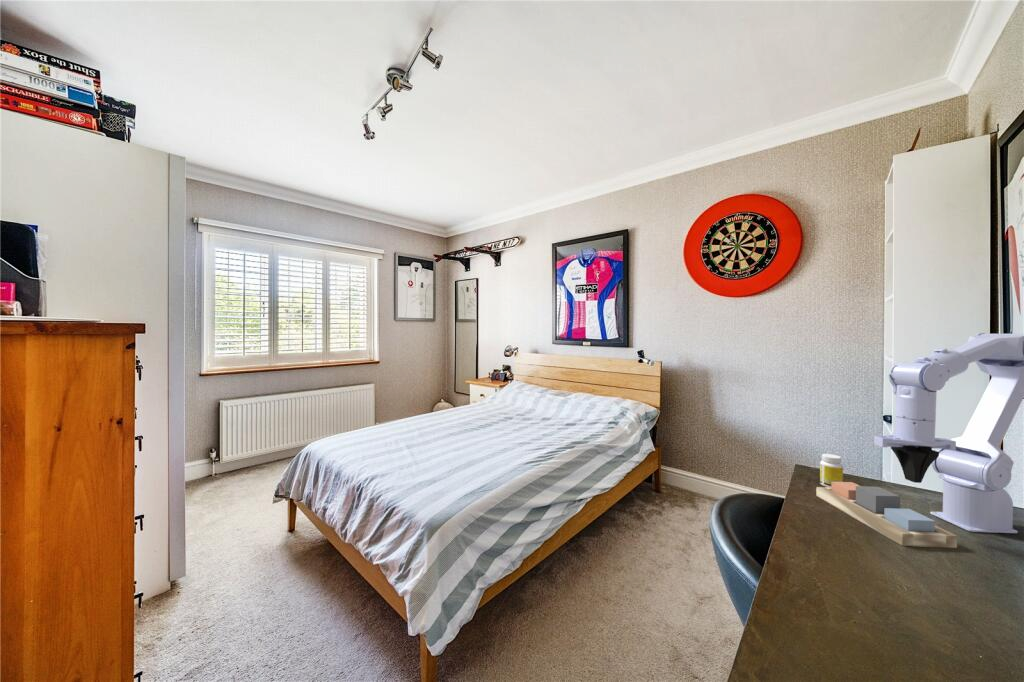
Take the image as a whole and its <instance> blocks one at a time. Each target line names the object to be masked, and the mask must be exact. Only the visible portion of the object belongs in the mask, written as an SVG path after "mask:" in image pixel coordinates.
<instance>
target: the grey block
mask: <svg viewBox="0 0 1024 682" xmlns="http://www.w3.org/2000/svg"><path fill="white" fill-rule="evenodd" d="M856 503H857V504H859V505H860V506H862V507H864V508H866V509H868V510H870V511H872V512H874V513H876V514H884V508H897V509H901V496H900V495H898V494H896V493H894V492H892V491H890V490H887V489H885V488H882V487H880V486H870V485H869V486H868V485H867V486H866V485H859V486H856Z"/></svg>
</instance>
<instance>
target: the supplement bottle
mask: <svg viewBox="0 0 1024 682" xmlns="http://www.w3.org/2000/svg"><path fill="white" fill-rule="evenodd" d="M843 480H844V466H843V464H842V456H839V455H836V454H833V453H822V454H821V461H820V462H819V484H820V485H822V487H831V482H844V481H843Z"/></svg>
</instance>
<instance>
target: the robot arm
mask: <svg viewBox="0 0 1024 682" xmlns="http://www.w3.org/2000/svg"><path fill="white" fill-rule="evenodd" d="M971 363H975V364H976V365H977V367H978V368H979V370H980V371H981V372H983V373H984V374H988V375H990V377H991V378H990V379H989V380H990V381H989V382H988V384H987V386H986V389H985V390H984V393H983V394H982V397H981V399H980V400H979V402H978V404H977V406H976V408H975V410H974V412H973V414H972V416H971V418H970V420H969V421H968V424H967V426H966V428H965V429H964V431H963V434H962V435H961V436H958V437H953V438H945V437H944V438H942V437H936V419H937V418H936V416H937V413H936V412H937V391H940V390H942V389H943V388H944V386H945V385H946V384H947V382H948V381H949V380H950V379H951V378H953V377H956V376H958V375H960V374H962V373H965V372H966V371H967V370H968V368H969V365H970V364H971ZM888 379H889V382H890V383H891V386H892V393H893V394H894V395H895V396H896V397H895V399H896V400H895V423H894V424H895V426H894V427H895V428H894V429H895V430H894V432H893V433H892V434H891V435H890V434H889V435H888V434H887V435H874V437H873V442H874V443H873V445H874V446H877V447H881V448H888V447H889V448H890V450H892V452H893V453H894V455H895V456H896V458H897V460H898V461H899V464H900V467H901V469H902V472H903V475H904V478H905V479H904V480H907V481H910V482H912V483H918V484H920V483H922V481H923V479H924V477H925V475H926V473H927V471H928V470H929V467H930V466H932V469H933V470H934V472H935V473H937V474H938V478H940V479H942V480H943V481H942V483H943V484H942V486H943V487H942V511H930V515H932V516H935V517H936V518H939V519H941V520H944V521H945V522H948V523H950V524H951V525H955V526H957V527H959V528H961V529H963V530H965V531H968V532H972V533H995V534H996V533H1000V534H1002V533H1003V534H1018V532H1019V531H1018V530H1016V529H1014V528H1013V527H1014V523H1013V520H1014V519H1013V518H1014V517H1013V516H1014V514H1013V513H1014V504H1013V503H1014V502H1013V499H1012V497H1011V496H1010V494H1009V492H1008V491H1006V490H1005V489H1004V488H1006V487H1008V485H1009V484H1010V482H1011V481H1012V469H1013V467H1014V460H1012V457H1010V456H1009V455H1008V454H1007V453H1006V452H1005V451H1003V450H1002V449H1001V448H1000V446H1001V444H1002V442H1003V440H1004V438H1005V436H1006V435H1007V432H1008V431H1009V428H1010V426H1011V424H1012V422H1013V420H1014V418H1015V416H1016V414H1017V412H1018V409H1019V408H1020V406H1021V405H1022V402H1023V400H1024V333H985V332H979V333H975V334H974V335H970V336H969V338H968V339H967V342H965V343H964V344H961V345H960V346H958V347H956V348H954V349H947V348H936V349H933V352H931V353H929V354H927V355H925V356H919V357H917V358H916V360H914V361H911V362H910V361H902V362H899V363H896V364H894V365H893V367H891V368H890V372H889V373H888ZM933 449H936V450H933Z"/></svg>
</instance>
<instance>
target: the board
mask: <svg viewBox="0 0 1024 682" xmlns="http://www.w3.org/2000/svg"><path fill="white" fill-rule="evenodd" d="M815 491H816V494H815V495H816V497H817V498H819V499H821V500H822V501H824V502H826V503H827V504H829V505H831V506H833V507H834V508H836V509H838V510H839V511H842V512H843V513H845V514H847V515H848V516H850V517H852V518H853V519H855V520H856V521H859V522H861V524H864V525H866V526H868V527H869V528H870V529H872V530H874V531H875V532H877V533H880V534H881V535H883V536H884V537H886V538H888V539H890V540H891V541H893V542H895V543H897V544H899V545H901V546H902V547H923V548H925V547H927V548H928V547H929V548H947V549H948V548H952V549H957V548H958V535H957V534H954V533H952V532H951V531H948V530H946V529H944V528H942V527H940V526H938V525H936V524H935V532H909V531H906V530H904V529H902V528H901V527H899V526H897V525H895V524H893V523H891V522H889V521H887V520H886V519H884V514H876V513H874V512H872V511H870V510H868V509H866V508H864V507H862V506H860V505H859V504H857V503H856V500H848V499H846V498H844V497H842V496H840V495H838V494H836V493H835V492H833V491H831V487H825V486H816V490H815Z"/></svg>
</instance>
